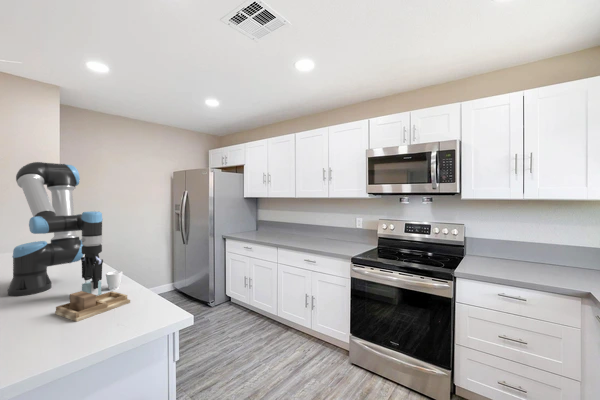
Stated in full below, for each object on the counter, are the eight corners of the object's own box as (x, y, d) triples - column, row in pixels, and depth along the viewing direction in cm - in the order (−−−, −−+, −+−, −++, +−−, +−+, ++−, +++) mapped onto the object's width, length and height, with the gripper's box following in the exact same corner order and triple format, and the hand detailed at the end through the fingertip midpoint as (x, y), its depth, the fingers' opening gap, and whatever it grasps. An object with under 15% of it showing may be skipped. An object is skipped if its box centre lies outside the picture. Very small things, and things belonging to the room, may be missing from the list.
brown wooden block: (69, 309, 107) (69, 294, 107) (81, 305, 111) (81, 291, 111) (84, 313, 103) (84, 298, 103) (95, 309, 107) (95, 294, 107)
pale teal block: (81, 296, 123) (81, 283, 123) (96, 292, 128) (96, 280, 128) (86, 298, 121) (86, 285, 121) (101, 294, 127) (101, 281, 127)
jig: (55, 314, 105) (55, 306, 105) (109, 297, 123) (109, 290, 123) (76, 321, 99) (76, 313, 99) (130, 302, 117) (130, 295, 117)
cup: (106, 292, 130) (106, 275, 129) (104, 286, 137) (104, 271, 137) (123, 289, 134) (123, 273, 134) (120, 284, 142) (120, 268, 142)
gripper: (72, 244, 125) (72, 293, 125) (93, 247, 118) (93, 300, 118) (90, 241, 131) (90, 288, 132) (111, 245, 124) (111, 294, 125)
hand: (91, 294), depth 125 cm, fingers closed on pale teal block, 4 cm apart
